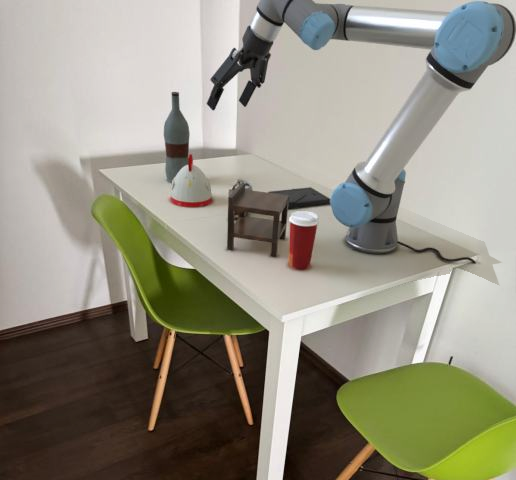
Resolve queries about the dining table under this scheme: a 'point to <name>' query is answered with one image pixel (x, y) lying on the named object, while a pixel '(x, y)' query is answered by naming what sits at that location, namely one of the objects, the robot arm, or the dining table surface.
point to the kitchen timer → (191, 187)
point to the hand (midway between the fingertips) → (226, 105)
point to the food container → (239, 181)
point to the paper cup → (302, 239)
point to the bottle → (176, 140)
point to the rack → (252, 225)
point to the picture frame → (303, 197)
